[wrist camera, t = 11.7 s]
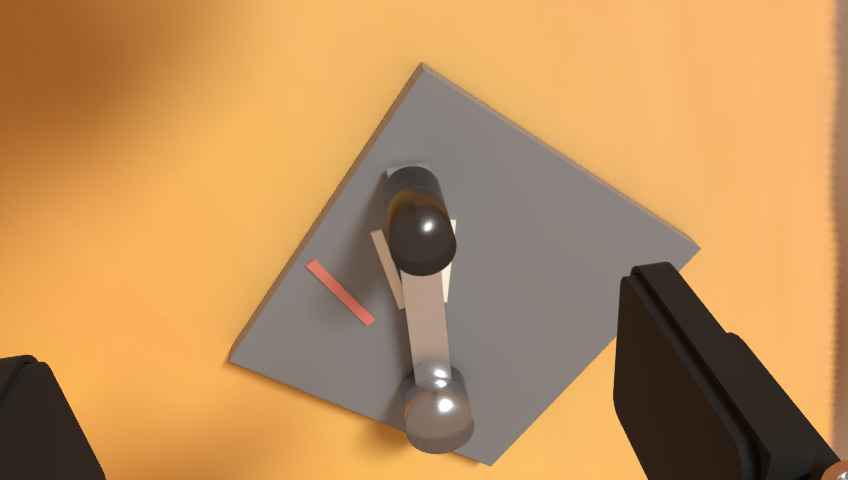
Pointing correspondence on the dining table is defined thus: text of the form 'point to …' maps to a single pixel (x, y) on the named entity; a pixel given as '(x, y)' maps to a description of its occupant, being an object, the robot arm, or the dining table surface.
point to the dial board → (459, 271)
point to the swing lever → (426, 309)
